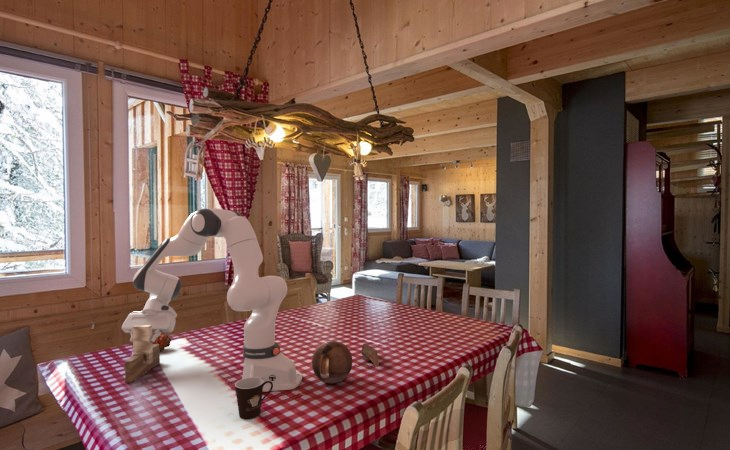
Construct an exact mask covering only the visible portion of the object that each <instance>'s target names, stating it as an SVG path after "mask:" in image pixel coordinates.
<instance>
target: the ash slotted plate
mask: <svg viewBox="0 0 730 450" xmlns="http://www.w3.org/2000/svg"><path fill="white" fill-rule="evenodd" d="M151 336H153V333H152V325H136V326H133V342H132V343H133V344H132V349H133V351H132V352H133V353H132V354H133V356H135V355H136V354H146V358H147V364H151V363H152V362H153V345H152V342H150V341H149V339H150V337H151Z"/></svg>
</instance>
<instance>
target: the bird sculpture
mask: <svg viewBox="0 0 730 450" xmlns="http://www.w3.org/2000/svg"><path fill="white" fill-rule="evenodd" d="M361 355H362V356H363V359H364V361H367V362H369V361H371V362H372V363H373V365H374V366H375V367H376V368H378V367H379V366H380V363H379V359H380V355H379V354H378V352H377V350H376V349H375V348H374V347H373V346H371V345H369V344H368V343H363V344H362V347H361Z"/></svg>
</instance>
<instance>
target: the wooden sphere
mask: <svg viewBox="0 0 730 450" xmlns="http://www.w3.org/2000/svg"><path fill="white" fill-rule="evenodd" d="M311 367H312V370H313V373H314V375H315V377H317V378H318V379H319V380H320V381H322V382H323V383H326V384H337V383H340V382H343V381H344V380H345V379H346V378H347V377H348V376H349V374H350V373H351V372H352V371H351V370H352V368H353V356H352V353H351V351H350V349H349V348H348V347H347V346H346V345H345V344H344V343H342V342H339V341H337V340H328V341H325V342H323V343H322V344H320V345H319V346H318V347H317V348H316V349H315V351H314V352H313V354H312V359H311Z"/></svg>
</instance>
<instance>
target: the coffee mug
mask: <svg viewBox="0 0 730 450" xmlns="http://www.w3.org/2000/svg"><path fill="white" fill-rule="evenodd" d="M266 383H270V384H271V388H270V390H269V391H267V393H265V395H264V396H263V393H264V392H263V386H264V385H265V384H266ZM234 388H235V396H236V402H237V408H238V415H239V418H240V419H241V420H253V419H256V418H258V417H259V416H260V415H261V412H262V402H263V401H264V400H265V399H266V398H267V397H268V395H270V393H271V392H272V391H271V390H272V388H273V383H272V382H271V381H266V382H264V383H263V379H261V378H257V377H249V378H244V379H242V378H241V379H239V380H237V381H236V382H235V384H234Z"/></svg>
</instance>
